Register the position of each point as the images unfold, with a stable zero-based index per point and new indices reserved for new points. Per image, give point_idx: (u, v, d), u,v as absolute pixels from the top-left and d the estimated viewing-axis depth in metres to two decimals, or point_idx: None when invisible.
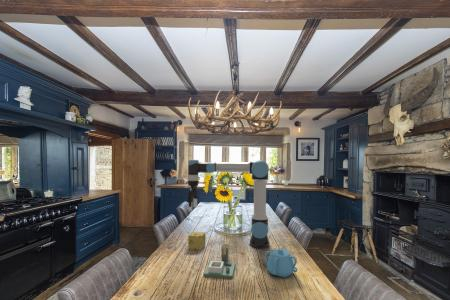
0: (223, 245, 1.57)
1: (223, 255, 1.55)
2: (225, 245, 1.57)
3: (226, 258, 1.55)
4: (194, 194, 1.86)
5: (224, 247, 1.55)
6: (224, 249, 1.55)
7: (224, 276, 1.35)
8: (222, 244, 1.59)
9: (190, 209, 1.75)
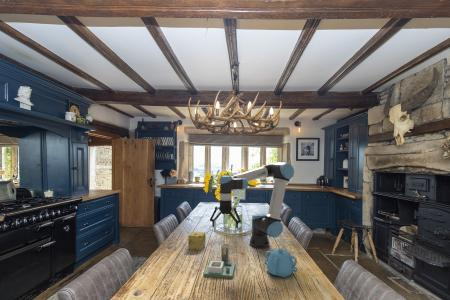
0: (223, 245, 1.57)
1: (223, 255, 1.55)
2: (225, 245, 1.57)
3: (226, 258, 1.55)
4: (232, 217, 1.58)
5: (224, 247, 1.55)
6: (224, 249, 1.55)
7: (224, 276, 1.35)
8: (222, 244, 1.59)
9: None
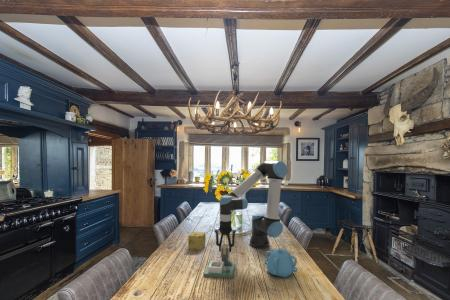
0: (223, 245, 1.57)
1: (223, 255, 1.55)
2: (225, 245, 1.57)
3: (226, 258, 1.55)
4: (228, 239, 1.58)
5: (224, 247, 1.55)
6: (224, 249, 1.55)
7: (224, 276, 1.35)
8: (222, 244, 1.59)
9: None
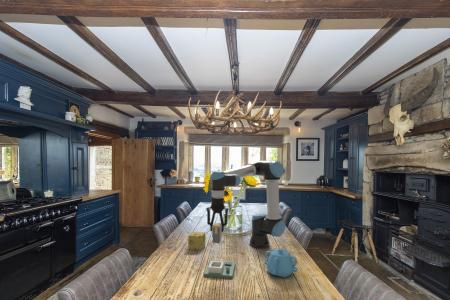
0: (215, 224, 1.44)
1: (214, 235, 1.42)
2: (217, 224, 1.44)
3: (218, 238, 1.42)
4: (220, 217, 1.45)
5: (216, 226, 1.42)
6: (216, 228, 1.42)
7: (224, 276, 1.35)
8: (214, 223, 1.46)
9: None
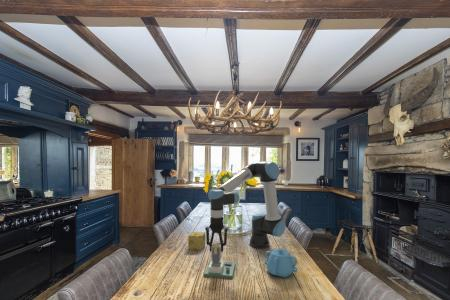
0: (214, 244, 1.42)
1: (214, 255, 1.40)
2: (216, 244, 1.42)
3: (217, 258, 1.40)
4: None
5: (215, 246, 1.40)
6: (215, 248, 1.40)
7: (224, 276, 1.35)
8: (213, 243, 1.44)
9: None
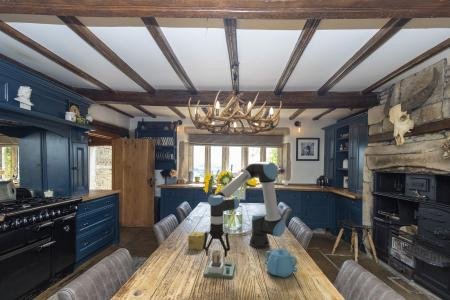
0: (214, 252, 1.42)
1: (214, 263, 1.40)
2: (216, 252, 1.42)
3: (217, 266, 1.40)
4: None
5: (215, 254, 1.40)
6: (215, 256, 1.39)
7: (224, 276, 1.35)
8: (213, 251, 1.44)
9: None
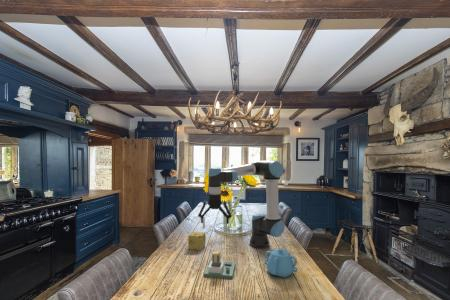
0: (214, 252, 1.42)
1: (214, 263, 1.40)
2: (216, 252, 1.42)
3: (217, 266, 1.40)
4: (222, 212, 1.47)
5: (215, 254, 1.40)
6: (215, 256, 1.39)
7: (224, 276, 1.35)
8: (213, 251, 1.44)
9: None
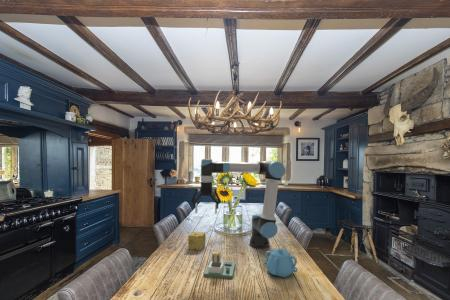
0: (214, 252, 1.42)
1: (214, 263, 1.40)
2: (216, 252, 1.42)
3: (217, 266, 1.40)
4: None
5: (215, 254, 1.40)
6: (215, 256, 1.39)
7: (224, 276, 1.35)
8: (213, 251, 1.44)
9: None
